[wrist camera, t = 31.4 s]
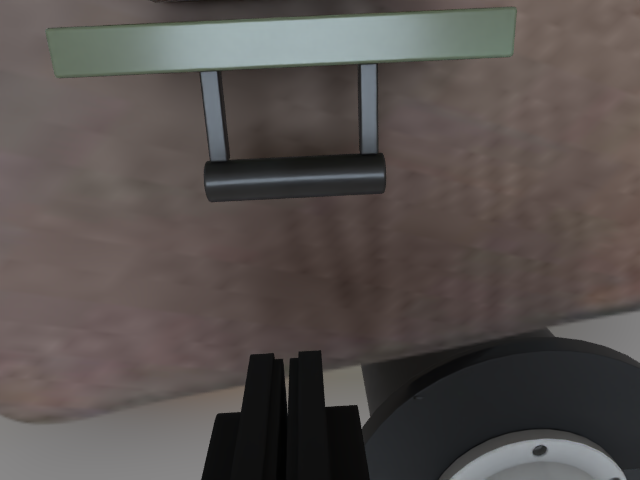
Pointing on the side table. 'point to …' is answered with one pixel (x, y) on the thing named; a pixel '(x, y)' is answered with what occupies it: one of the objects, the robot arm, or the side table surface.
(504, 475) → the robot arm
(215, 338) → the side table surface
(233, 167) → the drawer
